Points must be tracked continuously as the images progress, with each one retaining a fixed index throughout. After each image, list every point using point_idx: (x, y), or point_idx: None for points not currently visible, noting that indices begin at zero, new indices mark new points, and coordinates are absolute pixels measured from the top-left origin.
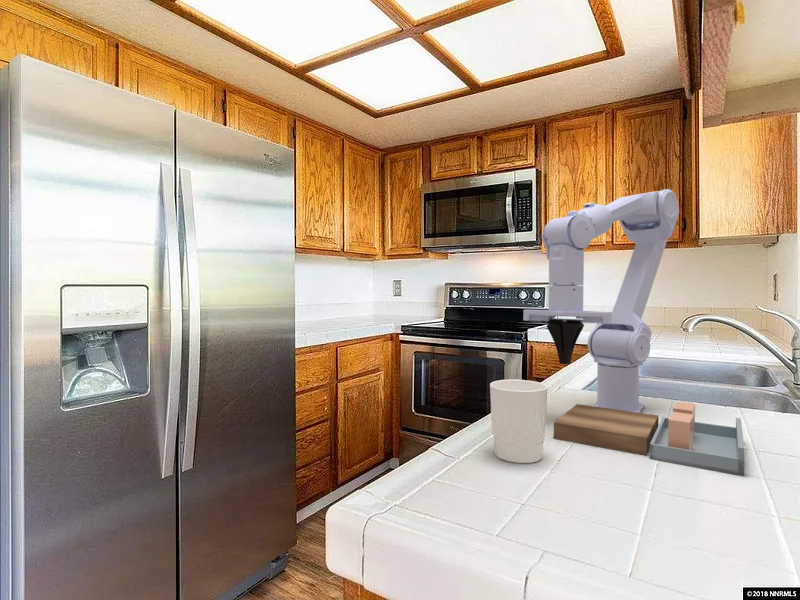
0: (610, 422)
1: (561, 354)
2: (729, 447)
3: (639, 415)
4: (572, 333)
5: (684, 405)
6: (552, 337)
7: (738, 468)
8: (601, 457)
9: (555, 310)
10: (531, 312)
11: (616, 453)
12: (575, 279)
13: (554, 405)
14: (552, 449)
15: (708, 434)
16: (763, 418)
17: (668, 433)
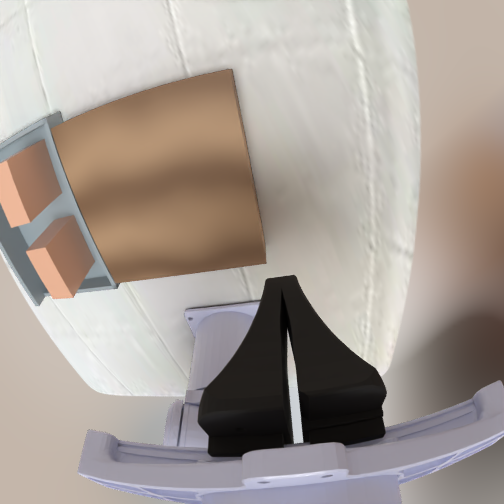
0: (137, 171)
1: (288, 295)
2: (31, 241)
3: (132, 261)
4: (228, 372)
5: (51, 279)
6: (339, 341)
7: None
8: (110, 46)
9: (342, 486)
10: (484, 429)
11: (101, 87)
12: None
13: (337, 292)
14: (198, 8)
15: None
16: (97, 375)
17: (22, 151)
